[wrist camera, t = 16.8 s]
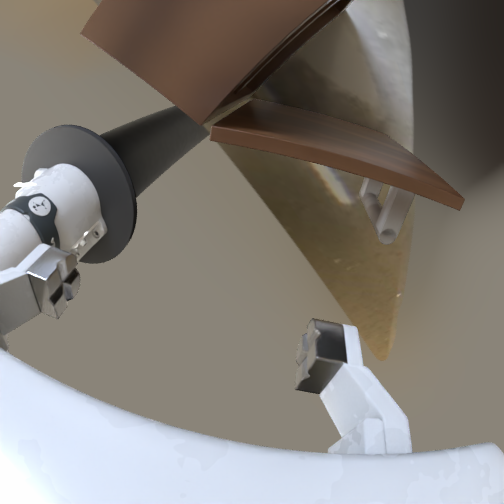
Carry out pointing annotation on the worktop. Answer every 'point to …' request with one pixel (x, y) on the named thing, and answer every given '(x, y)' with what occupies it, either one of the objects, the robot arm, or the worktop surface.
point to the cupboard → (207, 44)
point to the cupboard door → (340, 157)
